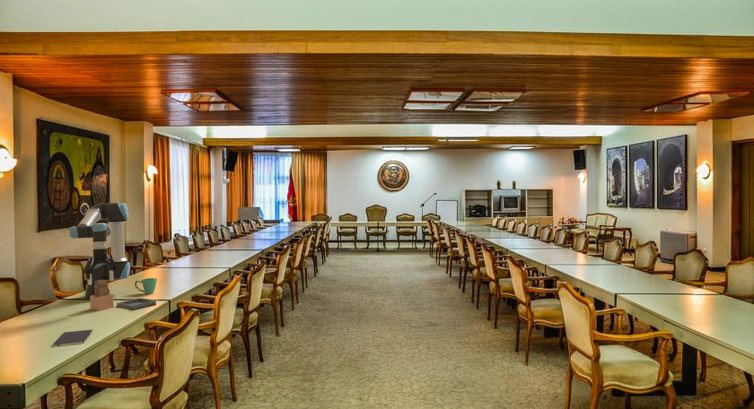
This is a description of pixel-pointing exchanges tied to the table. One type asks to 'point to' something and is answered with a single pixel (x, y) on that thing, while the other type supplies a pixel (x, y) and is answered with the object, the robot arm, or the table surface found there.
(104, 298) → the square pink sleeve
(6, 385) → the table surface
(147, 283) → the mug
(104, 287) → the walnut peg
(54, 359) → the table surface
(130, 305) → the charcoal tray
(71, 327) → the table surface
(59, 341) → the notebook
